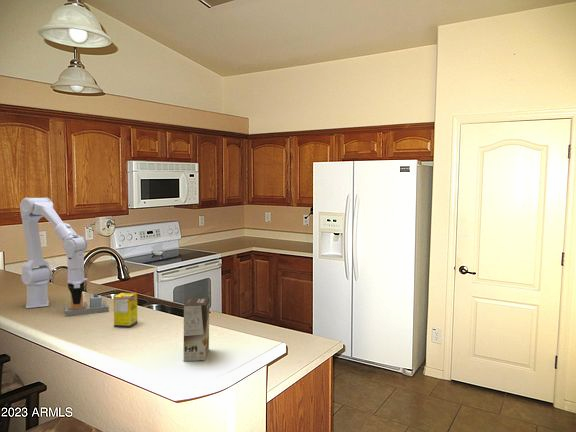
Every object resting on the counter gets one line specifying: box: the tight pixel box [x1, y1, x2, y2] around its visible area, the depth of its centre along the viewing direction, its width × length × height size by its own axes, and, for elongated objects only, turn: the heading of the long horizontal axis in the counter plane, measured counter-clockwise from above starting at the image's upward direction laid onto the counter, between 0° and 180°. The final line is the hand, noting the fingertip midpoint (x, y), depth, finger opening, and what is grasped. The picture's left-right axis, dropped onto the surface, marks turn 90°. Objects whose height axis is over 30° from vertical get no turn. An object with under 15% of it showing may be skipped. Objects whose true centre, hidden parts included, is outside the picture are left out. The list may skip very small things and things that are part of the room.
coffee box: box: [183, 296, 210, 362], centre depth 123 cm, size 9×6×16 cm
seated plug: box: [89, 293, 103, 308], centre depth 168 cm, size 4×4×6 cm
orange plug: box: [70, 293, 84, 310], centre depth 165 cm, size 4×4×6 cm
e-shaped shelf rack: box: [64, 299, 110, 317], centre depth 166 cm, size 11×15×2 cm
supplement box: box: [113, 292, 138, 329], centre depth 149 cm, size 6×6×11 cm
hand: (76, 302), depth 164 cm, fingers closed on orange plug, 4 cm apart
